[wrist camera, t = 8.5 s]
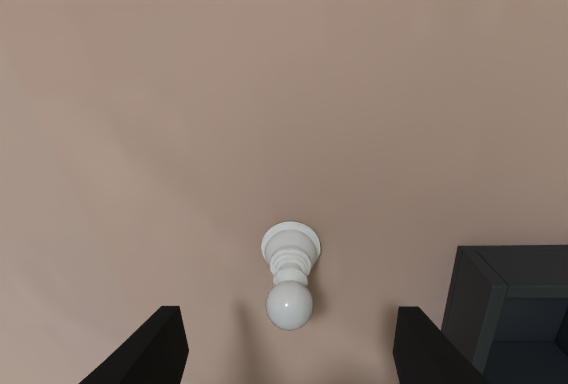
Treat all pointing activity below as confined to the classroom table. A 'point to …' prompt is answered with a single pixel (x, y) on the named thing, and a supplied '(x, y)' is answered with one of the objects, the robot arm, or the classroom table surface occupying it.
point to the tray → (511, 312)
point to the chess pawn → (290, 273)
